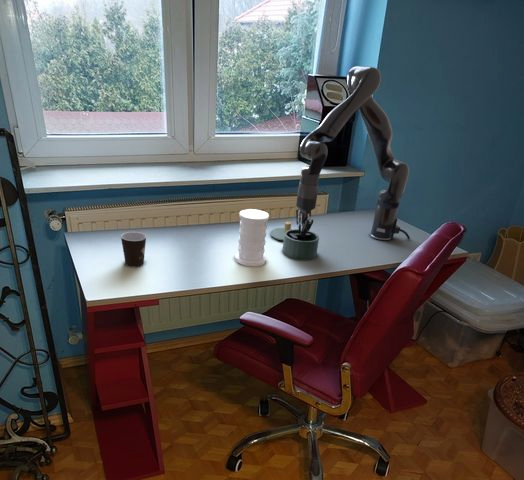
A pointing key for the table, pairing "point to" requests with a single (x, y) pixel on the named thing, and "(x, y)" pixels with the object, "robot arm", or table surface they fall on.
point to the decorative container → (252, 237)
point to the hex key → (297, 236)
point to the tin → (300, 246)
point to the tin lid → (280, 231)
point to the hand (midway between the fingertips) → (301, 238)
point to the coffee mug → (133, 248)
